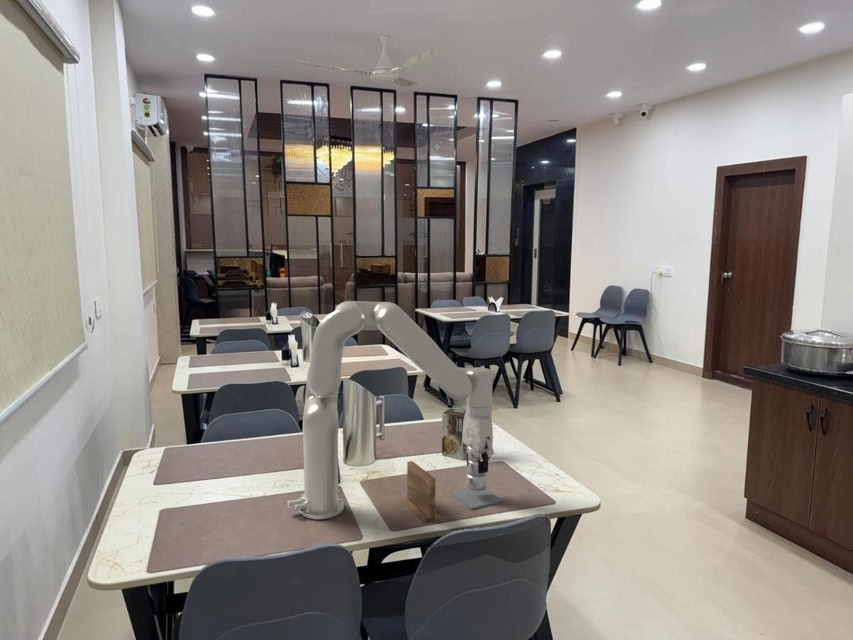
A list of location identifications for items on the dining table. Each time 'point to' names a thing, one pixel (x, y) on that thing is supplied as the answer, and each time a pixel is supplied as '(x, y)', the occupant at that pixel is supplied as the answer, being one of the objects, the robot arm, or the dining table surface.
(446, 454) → the coffee box
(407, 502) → the wooden stand
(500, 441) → the dining table surface
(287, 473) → the dining table surface
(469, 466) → the plastic bottle
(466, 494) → the mat
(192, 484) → the dining table surface
